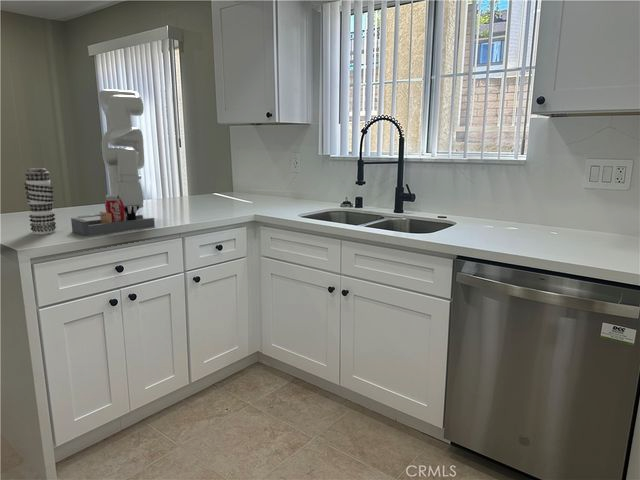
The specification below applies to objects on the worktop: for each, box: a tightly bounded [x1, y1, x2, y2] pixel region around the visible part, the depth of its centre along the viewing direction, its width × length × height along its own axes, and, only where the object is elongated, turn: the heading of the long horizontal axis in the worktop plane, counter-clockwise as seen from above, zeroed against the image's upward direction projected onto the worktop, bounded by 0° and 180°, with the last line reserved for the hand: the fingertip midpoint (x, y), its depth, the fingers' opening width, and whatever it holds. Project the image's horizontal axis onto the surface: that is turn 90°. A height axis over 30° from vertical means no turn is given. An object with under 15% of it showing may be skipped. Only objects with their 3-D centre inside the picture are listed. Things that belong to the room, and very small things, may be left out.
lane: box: [70, 214, 156, 237], centre depth 181 cm, size 11×29×6 cm, turn 139°
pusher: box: [77, 211, 112, 224], centre depth 174 cm, size 8×11×6 cm
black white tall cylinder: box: [23, 167, 57, 235], centre depth 170 cm, size 9×9×25 cm
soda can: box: [104, 197, 126, 222], centre depth 180 cm, size 7×7×12 cm
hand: (131, 222), depth 185 cm, fingers closed
